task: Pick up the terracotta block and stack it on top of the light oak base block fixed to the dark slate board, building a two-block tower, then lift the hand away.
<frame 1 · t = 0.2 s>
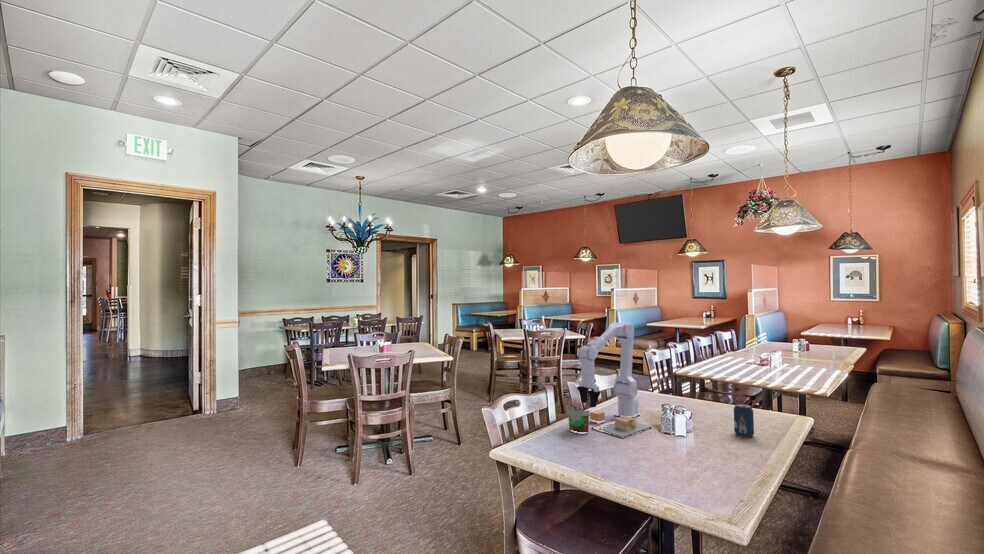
hand: (588, 404, 194), 10 cm above the table, tool pointing down, fingers open, 7 cm apart
food container: (575, 432, 187), on the table
terracotta block: (597, 422, 200), on the table
soda can: (744, 435, 178), on the table
oak base block: (625, 429, 188), resting on slate board
slate board: (621, 428, 190), on the table
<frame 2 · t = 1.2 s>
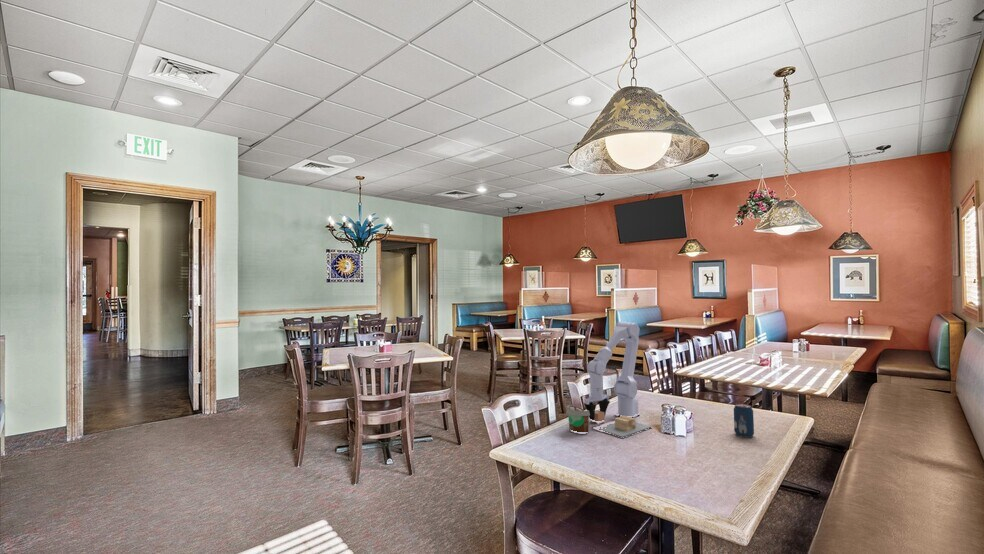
hand: (597, 417, 200), 2 cm above the table, tool pointing down, fingers open, 7 cm apart
nothing on the table moved.
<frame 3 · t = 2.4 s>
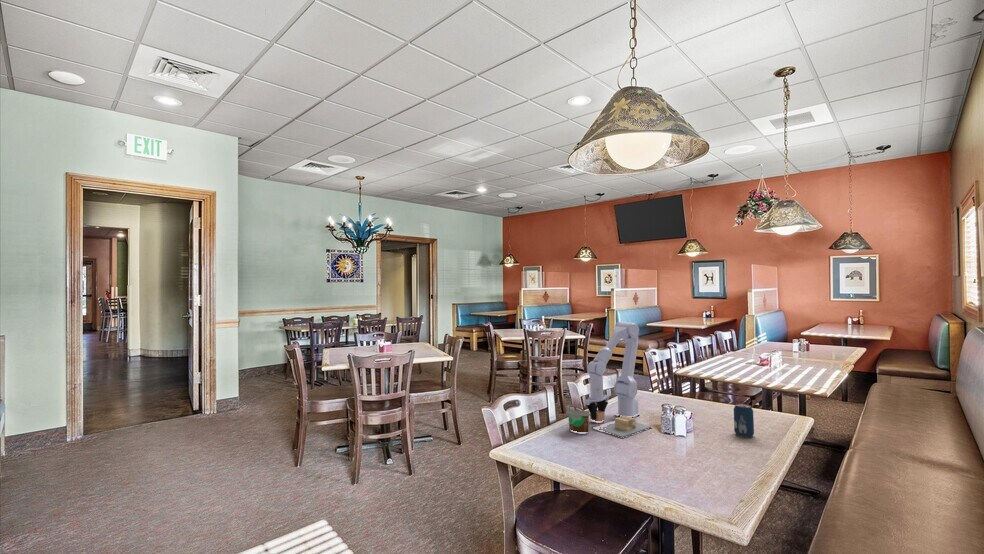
hand: (597, 418, 200), 2 cm above the table, tool pointing down, fingers closed on terracotta block, 4 cm apart
terracotta block: (597, 421, 200), on the table, touching gripper
everything else where it was.
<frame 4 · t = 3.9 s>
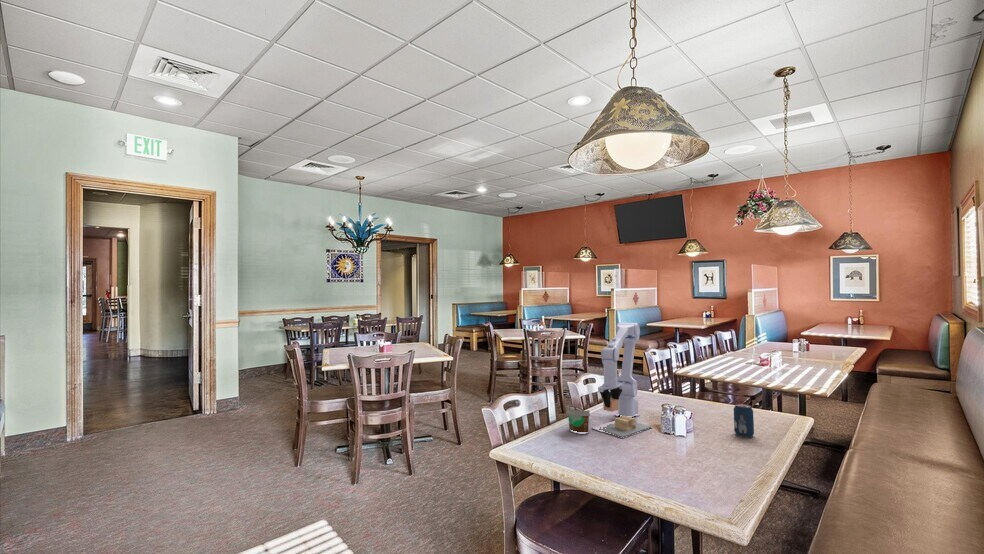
hand: (611, 406, 194), 9 cm above the table, tool pointing down, fingers closed on terracotta block, 4 cm apart
terracotta block: (610, 409, 194), point 7 cm above the table, touching gripper
everything else where it was.
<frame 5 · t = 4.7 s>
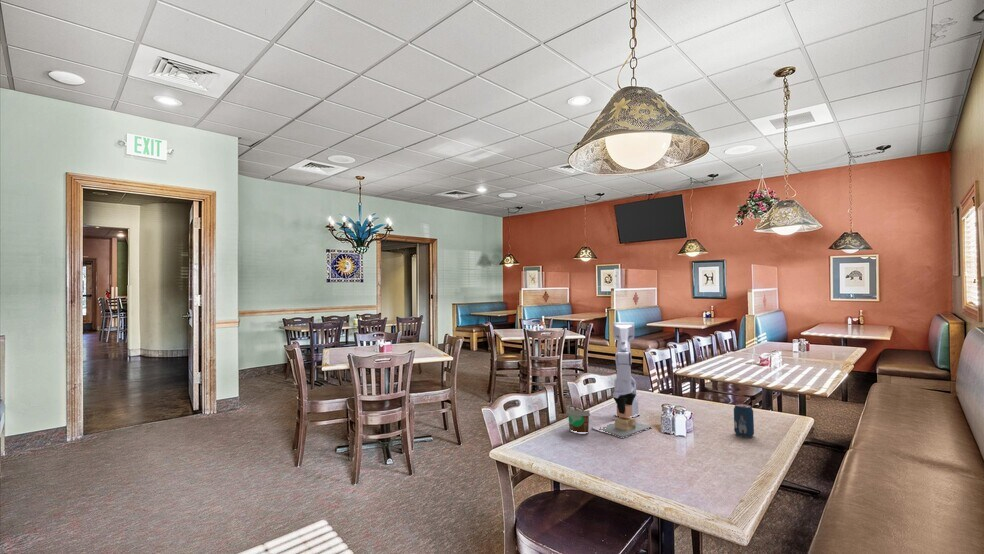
hand: (625, 412, 188), 8 cm above the table, tool pointing down, fingers closed on terracotta block, 4 cm apart
terracotta block: (624, 415, 189), point 6 cm above the table, touching gripper
everything else where it was.
when the fingers open (7 cm above the table, at t = 5.5 s): terracotta block stays where it is, resting on oak base block.
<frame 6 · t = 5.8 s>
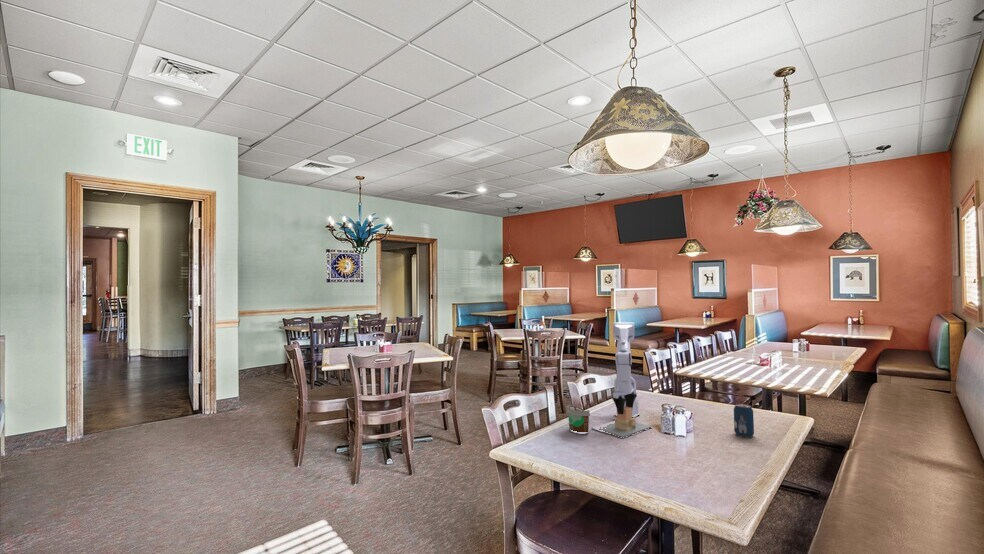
hand: (625, 412, 188), 7 cm above the table, tool pointing down, fingers open, 6 cm apart
terracotta block: (624, 418, 189), point 5 cm above the table, touching oak base block
everything else where it was.
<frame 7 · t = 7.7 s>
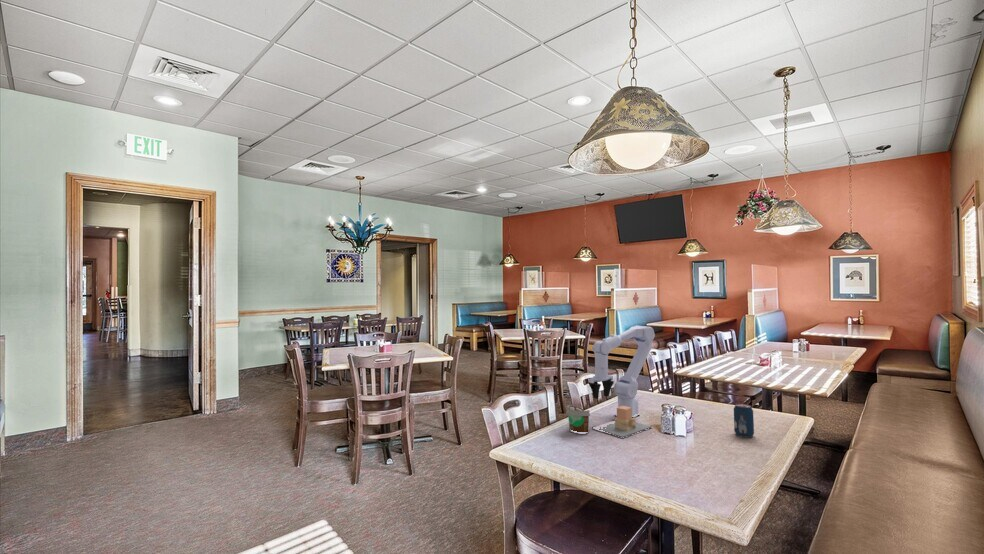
hand: (601, 397, 203), 10 cm above the table, tool pointing down, fingers open, 7 cm apart
nothing on the table moved.
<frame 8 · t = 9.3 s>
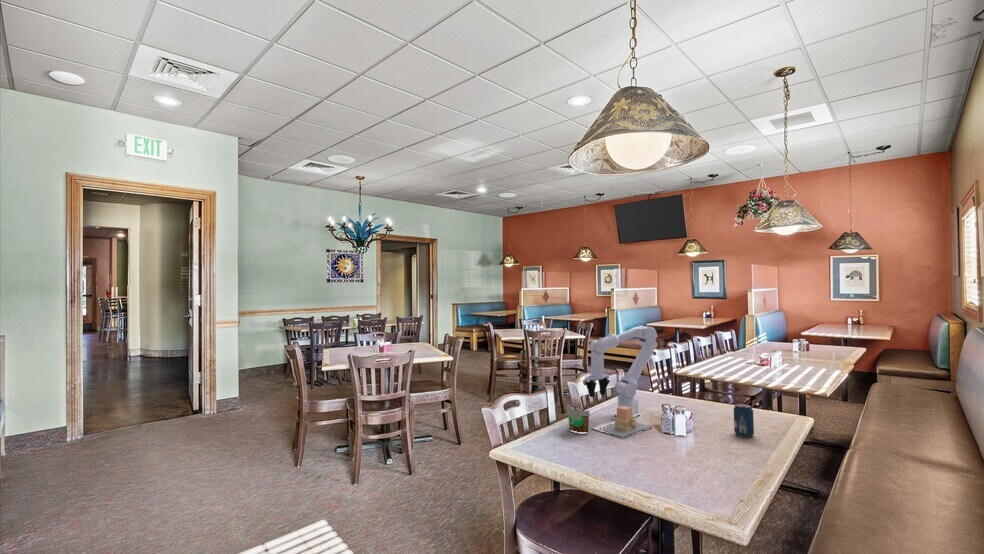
hand: (597, 395, 206), 10 cm above the table, tool pointing down, fingers open, 7 cm apart
nothing on the table moved.
at the end: terracotta block 0.3 cm off-centre on the oak base block, point 4.8 cm above the oak base block's base; terracotta block tilted 0°; the gripper is holding nothing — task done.
